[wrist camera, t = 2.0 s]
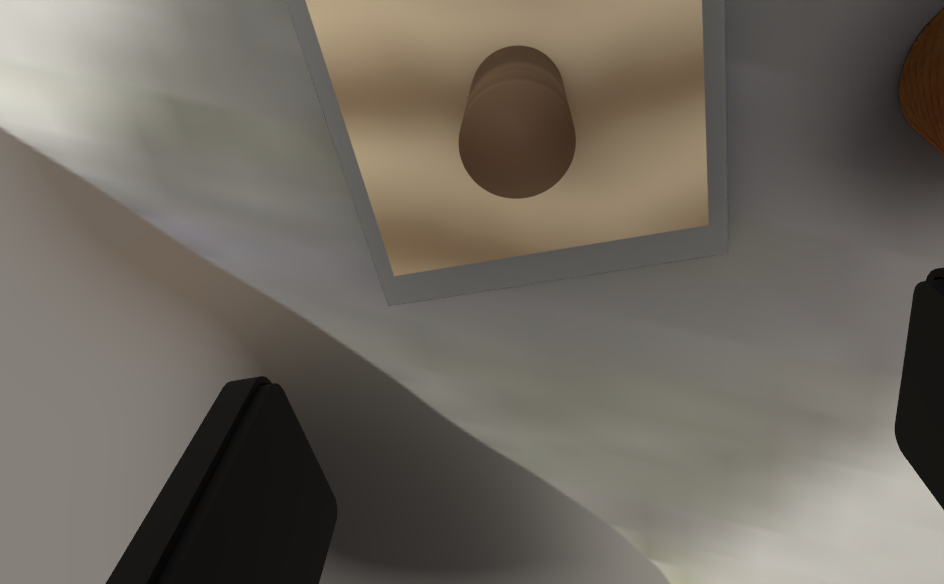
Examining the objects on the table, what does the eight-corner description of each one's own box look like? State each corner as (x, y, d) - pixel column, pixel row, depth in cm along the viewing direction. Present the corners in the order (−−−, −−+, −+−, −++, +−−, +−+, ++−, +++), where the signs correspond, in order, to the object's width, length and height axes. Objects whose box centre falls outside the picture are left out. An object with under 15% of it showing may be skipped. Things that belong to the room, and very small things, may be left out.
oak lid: (291, -66, 23) (215, -55, 17) (690, -170, 21) (758, -198, 15) (397, 267, 30) (368, 355, 24) (703, 216, 28) (753, 300, 22)
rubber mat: (254, -122, 23) (244, -123, 22) (713, -250, 20) (721, -257, 19) (391, 295, 32) (388, 306, 31) (722, 243, 29) (728, 253, 28)
